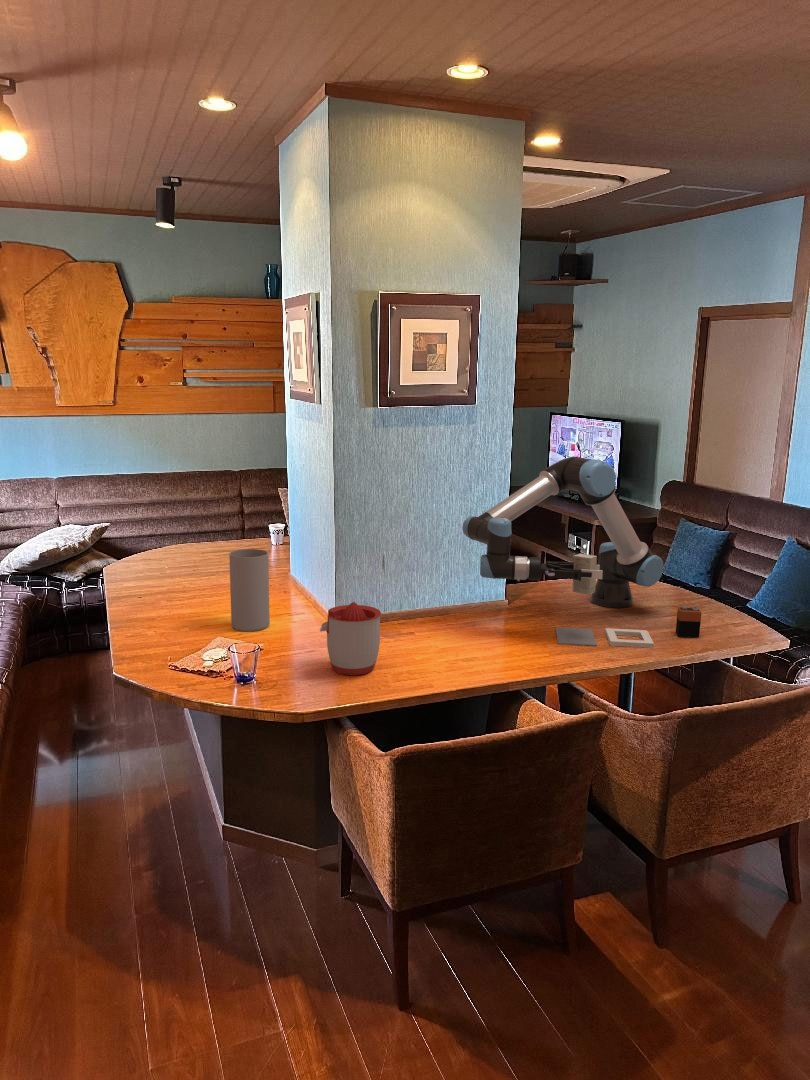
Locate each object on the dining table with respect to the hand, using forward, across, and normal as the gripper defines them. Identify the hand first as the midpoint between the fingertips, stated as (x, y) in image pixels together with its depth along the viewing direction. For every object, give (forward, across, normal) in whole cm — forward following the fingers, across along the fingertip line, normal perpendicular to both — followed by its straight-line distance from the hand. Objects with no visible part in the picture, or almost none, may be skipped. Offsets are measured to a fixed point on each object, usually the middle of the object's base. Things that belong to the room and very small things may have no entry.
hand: (600, 571), depth 259 cm
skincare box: (-5, 0, -7) cm, 9 cm away
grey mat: (-6, 0, -22) cm, 23 cm away
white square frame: (+11, 0, -22) cm, 25 cm away
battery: (+31, -8, -22) cm, 39 cm away
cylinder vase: (-114, +6, -23) cm, 116 cm away
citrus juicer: (-74, +39, -23) cm, 87 cm away
